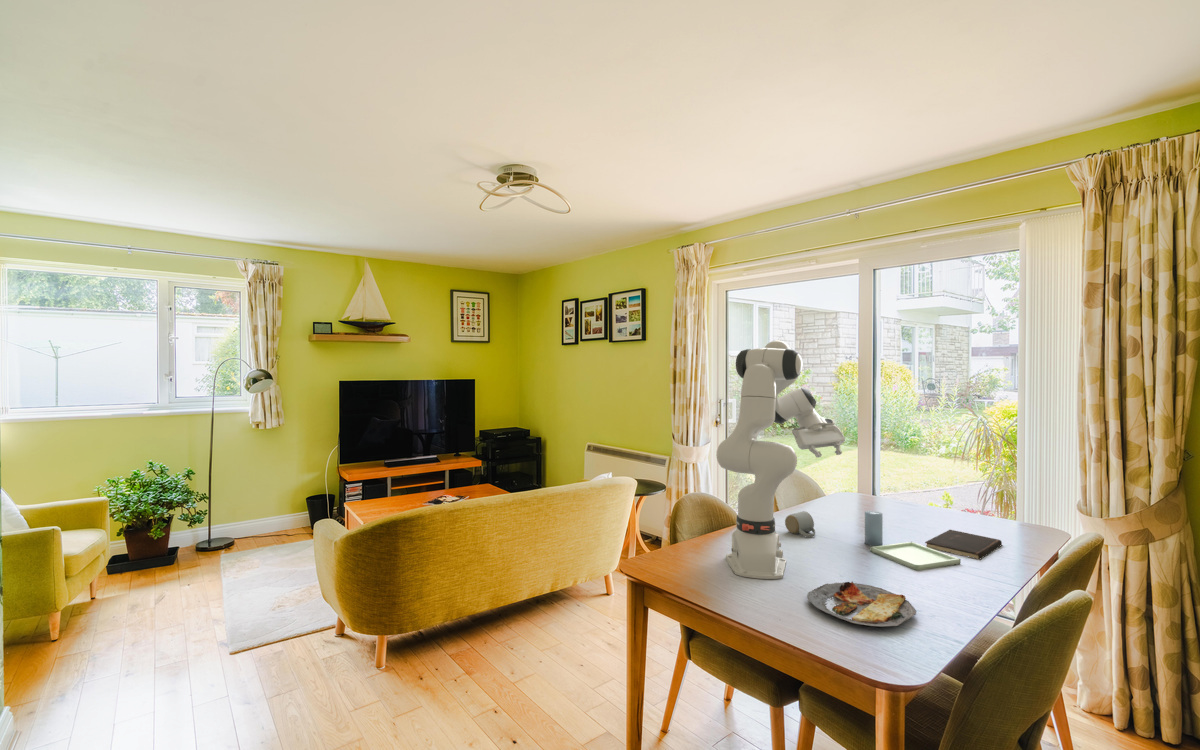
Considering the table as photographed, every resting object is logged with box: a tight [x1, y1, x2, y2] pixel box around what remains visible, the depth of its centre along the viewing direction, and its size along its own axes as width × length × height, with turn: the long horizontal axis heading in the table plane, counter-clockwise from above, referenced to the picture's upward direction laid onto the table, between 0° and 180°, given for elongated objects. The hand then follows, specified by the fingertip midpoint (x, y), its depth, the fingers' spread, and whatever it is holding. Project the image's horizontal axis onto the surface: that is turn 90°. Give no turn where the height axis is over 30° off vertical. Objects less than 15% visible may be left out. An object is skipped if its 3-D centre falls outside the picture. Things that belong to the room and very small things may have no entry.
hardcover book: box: [924, 529, 1003, 560], centre depth 184 cm, size 16×23×2 cm
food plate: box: [806, 581, 917, 627], centre depth 136 cm, size 25×23×4 cm
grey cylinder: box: [864, 510, 884, 547], centre depth 187 cm, size 6×6×11 cm
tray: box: [869, 541, 962, 571], centre depth 173 cm, size 18×18×2 cm
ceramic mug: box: [784, 510, 816, 538], centre depth 199 cm, size 11×8×8 cm
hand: (829, 455), depth 203 cm, fingers open, 8 cm apart
